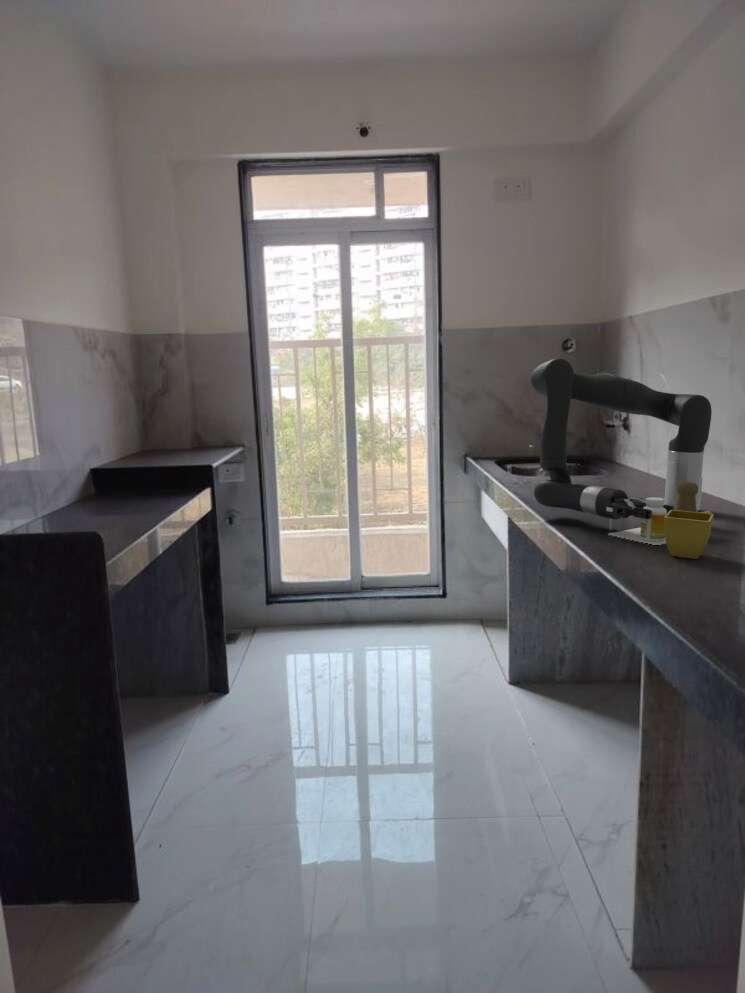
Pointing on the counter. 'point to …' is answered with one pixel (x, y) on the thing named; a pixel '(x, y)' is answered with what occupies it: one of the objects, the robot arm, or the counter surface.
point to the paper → (635, 536)
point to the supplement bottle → (654, 520)
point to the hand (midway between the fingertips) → (662, 512)
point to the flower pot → (687, 532)
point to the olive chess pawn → (686, 496)
